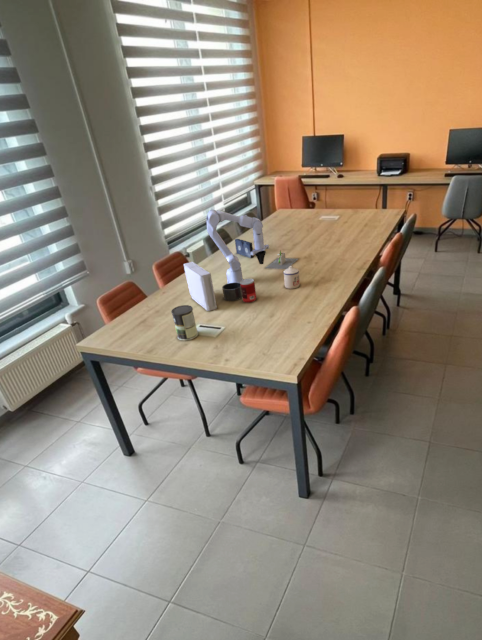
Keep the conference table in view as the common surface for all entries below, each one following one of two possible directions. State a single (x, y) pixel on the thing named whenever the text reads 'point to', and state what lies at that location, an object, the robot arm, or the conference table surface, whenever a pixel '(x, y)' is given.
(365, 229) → the conference table surface
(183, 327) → the coffee can
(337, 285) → the conference table surface
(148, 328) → the conference table surface
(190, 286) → the game console
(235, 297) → the pot
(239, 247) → the vhs cassette tape
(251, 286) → the canned food
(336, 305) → the conference table surface
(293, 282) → the teacup with lid
